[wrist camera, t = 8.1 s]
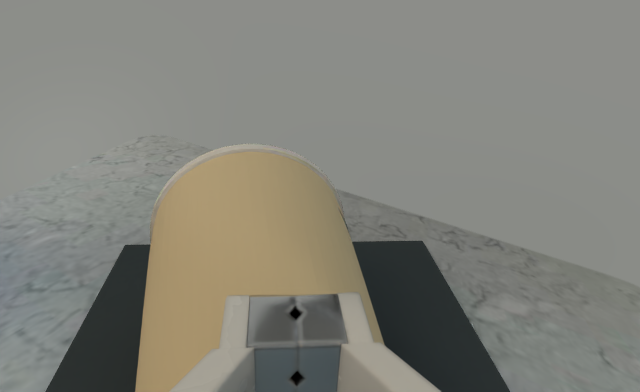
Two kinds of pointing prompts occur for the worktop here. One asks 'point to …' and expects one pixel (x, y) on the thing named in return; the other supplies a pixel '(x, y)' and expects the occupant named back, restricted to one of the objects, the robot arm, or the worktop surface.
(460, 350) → the slate mat
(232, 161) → the coffee cup
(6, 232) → the worktop surface
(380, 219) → the worktop surface
